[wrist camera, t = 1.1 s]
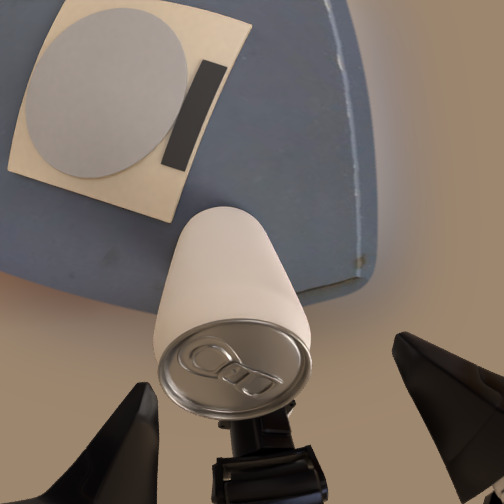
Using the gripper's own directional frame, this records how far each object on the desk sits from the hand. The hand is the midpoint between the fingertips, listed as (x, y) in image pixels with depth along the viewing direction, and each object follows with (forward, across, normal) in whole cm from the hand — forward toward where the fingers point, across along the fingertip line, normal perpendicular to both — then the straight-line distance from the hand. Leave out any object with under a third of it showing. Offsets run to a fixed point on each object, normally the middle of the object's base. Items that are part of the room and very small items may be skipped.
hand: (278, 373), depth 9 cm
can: (+13, +2, 0) cm, 13 cm away
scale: (+12, +7, -12) cm, 19 cm away
